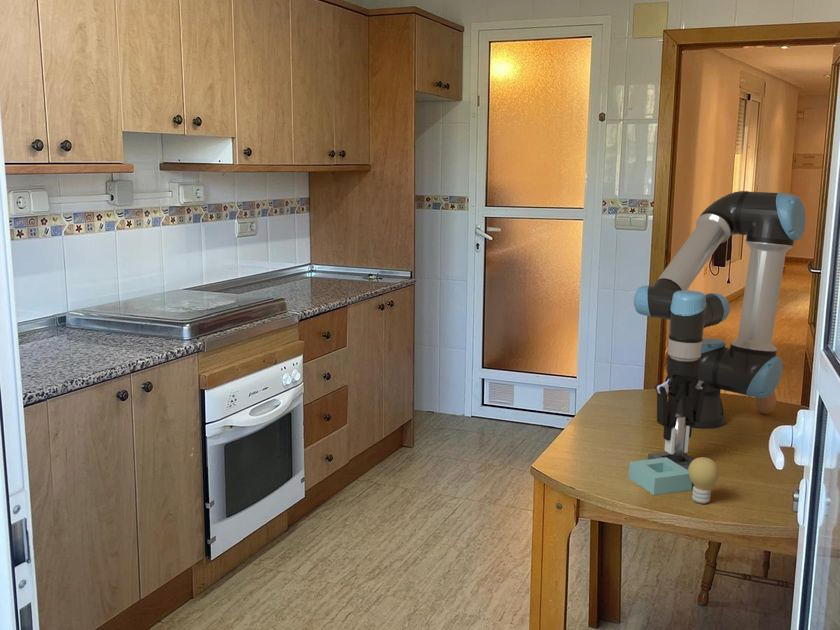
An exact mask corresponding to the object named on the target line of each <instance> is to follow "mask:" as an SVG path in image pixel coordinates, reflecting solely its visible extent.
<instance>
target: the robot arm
mask: <svg viewBox="0 0 840 630" xmlns="http://www.w3.org/2000/svg"><path fill="white" fill-rule="evenodd" d="M805 229H806V210H805V206H804V203H803V200H802V199H801V198H800V197H799V196H798V195H795V194H793V193H792V194H791V193H784V192H766V191H765V192H764V191H747V190H738V191H733V192H730V193H728V194H726V195H724V196H721V197H720V198H719V199H717V200H715V201H714V202H713V203H711V204H709V206H707V207H706V208H705V209H704V210H703V211H702V213H700V215H699V217H697V219H696V222H695V228H694V230H693V231H692V232H691V234H690V235H689V236H688V238H686V240H685V242H684V243H683V245H682V246H681V247H680V248H679V250H678V251H677V252H676V254H675V255H674V257H673V258H672V259H671V261H669V264H668V265H667V266H666V267H665V269H664V270H663V272H662V273H661V274H660V276H659V277H658V278H657V280H656V281H655V282H654V284H653V285H652V286H651V285H641V286H639V287H638V288H637V289H636V291H635V294H634V297H633V305H634V306H633V307H634V309H635V311H636V312H637V313H638V314H639V315H642V316H646V317H650V318H654V319H655V318H658V319H661V320H669V334H668V335H669V336H668V344H667V354H668V356H667V357H666V367H665V368H666V378H664V379H665V380H664V382H663V383H661V384H657V383H656V384H655V385H654V389H655V392H656V423H657V424H659V425H661V426H662V427H663V435H662V437H663V439H664V452H668V453H670V454H674V447H675V435H676V428H675V427H673V425H674V421H675V416H676V414H683V415H685V416H686V423H685V434H684V446H683V452H684V453H686V454H687V453H688V451H689V450H688V449H689V441H690V438H692V432H693V431H692V429H693V428H700V429H701V428H702V429H712V428H713V429H714V428H718V427H722V426H723V425H724V424H725V419H726V418H725V416H726V414H725V410H724V407H723V403H722V398H721V392H722V391H726V392H731V393H734V394H735V393H736V394H740V395H744V396H747V397H749V398H751V397H752V398H755V397H757V398H766V397H768V396H769V395H771V394H772V393H773V391H774V392H775V390H776V388H777V386H778V385H779V383H780V380H781V377H782V375H783V374H782V373H783V370H784V369H783V368H784V365H783V363H784V362H783V360H782V358H781V357H779V356H777V353H778V352H777V351H778V348H777V346H775V345H774V344H773V336H774V330H775V324H776V317H777V310H778V305H779V298H780V293H781V292H780V291H781V285H782V280H783V279H782V278H783V273H784V272H783V271H784V266H785V260H786V253H787V252H788V251H790V250H791V249H793V247H794V242H795V241H798V240H800V239H801V238H802V237H803V235H804V232H805ZM733 235H740V236H746V239H745V243H746V244H747V246H748V247H749V249H750V252H749V253H750V254H749V260H748V266H747V273H746V280H745V286H744V292H743V293H744V294H743V299H742V306H741V312H740V320H739V326H738V333H737V334H738V335H737V337H736V338H735V339H734V340H732V341H731V342H730V346H729V347H726V346H727V345H726V341H725V340H723V339H718V338H703V337H704V330H705V329H706V328H708V327H713V326H716V325H719V324H720V323H723V322H724V321H725V320H726V319H727V318H728V316H729V314H730V311H731V308H730V303H729V301H728V299H727V298H726V297H725V296H724V295H722V294H721V293H716V292H714V293H713V292H708V293H706V294H705V293H704V292H702V291H698V290H697V291H696V290H689V288H690V287H691V285H692V284H693V282H694V281H695V280H696V278H697V277H698V275H699V274H700V273H701V271H702V270H703V268H704V267H705V265H706V264H707V263H708V261H709V259H711V257H712V255H714V252H715V251H716V250H717V248H718V247H719V245H720V244H722V243H725V242H727V241H728V240H729V238H730V237H731V236H733Z"/></svg>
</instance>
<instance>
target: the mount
mask: <svg viewBox="0 0 840 630" xmlns="http://www.w3.org/2000/svg"><path fill="white" fill-rule="evenodd" d="M665 457H667V458H668V457H669V453H668V452H666V451H661V452H653V453H652V452H651V453H648V454H647V460H649V459H657V458H665ZM694 459H695V458H694V457H692V456H691V455H689V454H687V453H685V452H683V457H682V462H678V463H677V464H678V465H680V466H682V467H683V468H685V469H687V470H688V468H689V465H690V463H691V462H692V461H693V460H694Z"/></svg>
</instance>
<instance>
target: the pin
mask: <svg viewBox="0 0 840 630" xmlns="http://www.w3.org/2000/svg"><path fill="white" fill-rule="evenodd" d="M685 423H686V416H685V415H683V414H676V416H675V421H674V425H673V427H675V428H676V435H675V447H674V454H670V453H669V457H668V459H670V460H672V461H673V462H675V463H678V462H682V457H683V446H684V434H685Z"/></svg>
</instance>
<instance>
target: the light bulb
mask: <svg viewBox="0 0 840 630" xmlns="http://www.w3.org/2000/svg"><path fill="white" fill-rule="evenodd" d="M719 469H720V468H719V466H718V465H717V463H716V461H714V460H713V459H711V458H709V457H705V456H704V457H703V456H701V457H699V456H698V457H696V458H694V460H693V461H692V462H691V463H690V465H689V468H688V474H689V477H690V479H691V481H692V484H693V485H692V486H693V487H692V495H691V496H692V497H691V499H692V500H693V501H694V502H695V503H697V504H707V503H709V502H710V501H711V496H712V495H711V492H712V489H711V487H712V486H713V485H715V484H716V482H717V481H718V480H719V476H720V470H719Z"/></svg>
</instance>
